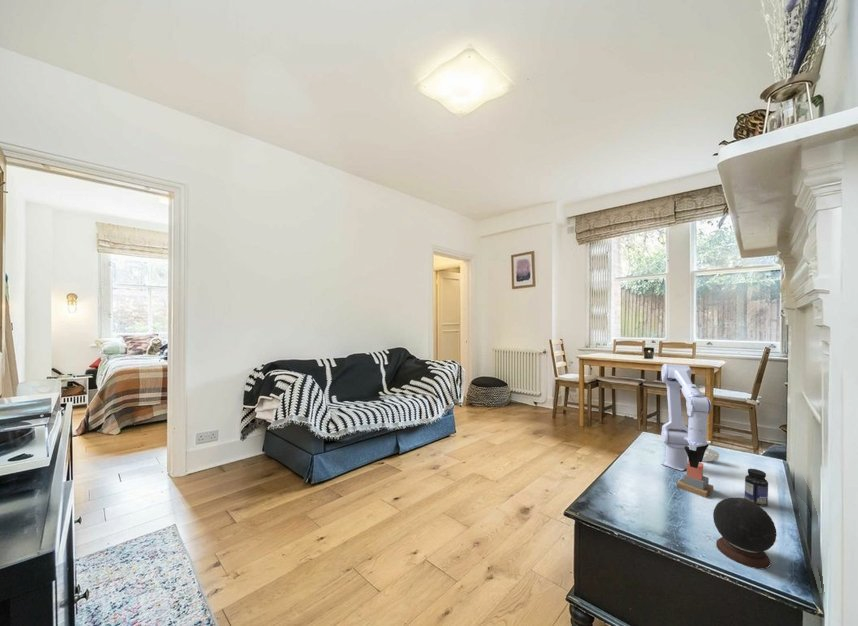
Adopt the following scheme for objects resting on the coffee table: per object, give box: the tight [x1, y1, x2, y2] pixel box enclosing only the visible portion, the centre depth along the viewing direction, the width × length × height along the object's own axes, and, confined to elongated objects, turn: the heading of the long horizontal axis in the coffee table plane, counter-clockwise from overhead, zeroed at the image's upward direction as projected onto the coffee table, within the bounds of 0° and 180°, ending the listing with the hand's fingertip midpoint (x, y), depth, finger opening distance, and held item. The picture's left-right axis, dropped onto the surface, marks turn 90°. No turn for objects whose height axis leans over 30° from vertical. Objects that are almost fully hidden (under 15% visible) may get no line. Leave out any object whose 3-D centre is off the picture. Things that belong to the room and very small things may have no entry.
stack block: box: [686, 459, 704, 480], centre depth 134 cm, size 4×4×5 cm
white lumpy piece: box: [688, 440, 720, 463], centre depth 161 cm, size 12×8×11 cm
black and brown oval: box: [712, 496, 777, 569], centre depth 98 cm, size 13×13×15 cm
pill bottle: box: [744, 468, 769, 507], centre depth 126 cm, size 6×6×11 cm
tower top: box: [683, 473, 710, 490], centre depth 134 cm, size 6×6×3 cm
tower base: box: [676, 477, 714, 499], centre depth 134 cm, size 9×9×2 cm
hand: (696, 464), depth 134 cm, fingers open, 7 cm apart
